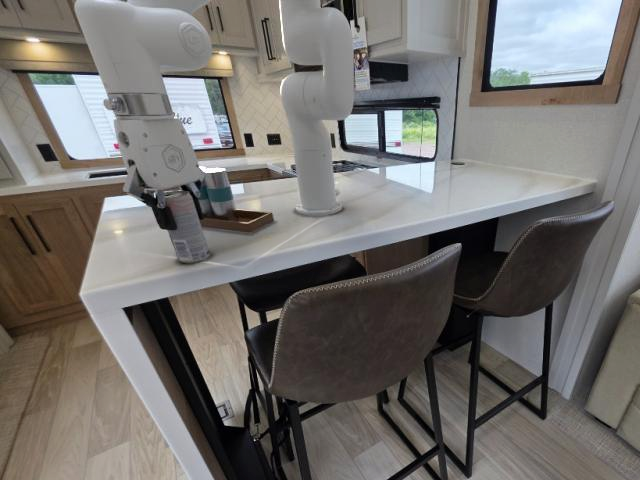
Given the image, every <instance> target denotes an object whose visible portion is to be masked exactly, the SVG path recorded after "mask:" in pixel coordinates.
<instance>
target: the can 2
mask: <svg viewBox="0 0 640 480" xmlns="http://www.w3.org/2000/svg"><path fill="white" fill-rule="evenodd" d="M203 171H204V172H205V176H204V182H205V186H206V190H207V193H208V197H209V200H210V203H211V206H212V210H213V213H214V217H215V219H217V220H226V221H235V222H239V219H238V215H237V211H236V209H237V208H236V204H235V199H234V193H233V190H232V187H231V184H230V180H229V176H228V175H229V174H228V171H227V168H222V167H213V168H206V169H205V170H203Z"/></svg>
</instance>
